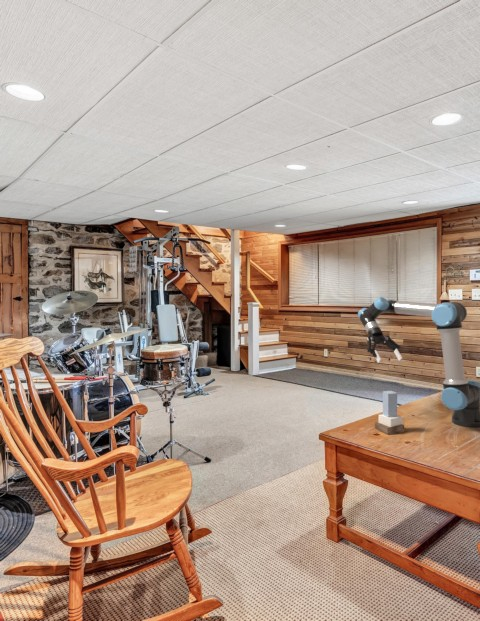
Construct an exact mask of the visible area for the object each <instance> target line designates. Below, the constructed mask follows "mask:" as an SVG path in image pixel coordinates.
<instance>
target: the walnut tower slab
mask: <svg viewBox="0 0 480 621" xmlns="http://www.w3.org/2000/svg"><path fill="white" fill-rule="evenodd" d="M374 429H375V430H377V431H379V432H381V433H383V434H385V435H388V436H389V435H395V434H402V433H405V425H404V424H403V423H402V425H398V426H393V427H389V426H386V425H384V424H381V423H379V420H377V421H375V422H374Z"/></svg>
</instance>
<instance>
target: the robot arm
mask: <svg viewBox="0 0 480 621" xmlns="http://www.w3.org/2000/svg"><path fill="white" fill-rule="evenodd" d="M381 314H399V315H408V316H418V317H427V318H428V317H429V318H431V320H432V322H433V323H434V324H435V327H436V331H438V332H439V333H440V340H441V342H440V343H441V349H442V350H441V351H442V359H443V366H444V367H443V368H444V375H445V379H444V380H443V381H442V386H443V390H442V391H441V394H440V399H441V402H442V403H443V405H444V406H445V407H446V408H448V409H450V410H452V411H453V412H452V415H451V423H453V424H454V425H456V426H462V427H466V428H480V382H479V381H478V380H472V379H467V378H465V370H464V363H463V356H462V354H463V353H462V345H461V339H460V338H461V337H460V331H461V330H462V328H463V325H462V323H463V322H464V321H465V320H466V318H467V315H468V311H467V309H466V307H465V305H464V304H463V303H460V302H456V301H451V302H450V301H449V302H441V303H427V302H415V301H405V300H394V299H386V298H385V297H383V296H379V297H378V298H377V299H375V300H374V301H373V303H372V304H371V305H370V306H369V307H362V308H361V309H360V310H359V311H358V312H357V316H358V318H359V321H360V323H361V324H362V326H363V327H364V329H365V331H366V333H367V334H368V337H367V338H366V341H367V342H366V343H367V345H366V346H367V353H370V355H372V356H373V357H374V358H375V360H376V361H377V363H378V364H379V363H380V362H381V361H382V358H381V356H380V355H379V352H378V351H377V350H376V347H377V345H378V346H379V345H383V346H386V347H388V348H389V349H391V350H393V353H394V355H395V356H396V358H397V360H398V361H399V362H401V361H402V360H403V356H402V355H401V352H400V349H401V346H400V344H398V343H397V342H395V341H394V340H393V339H392V338H391V337H390V336H389V335H388V334H387V335H386V336H384V335H383V334H384V333H383V331H382V329H381V327H380V326H379V324H378V322H377V321H376V319H377V318H378V317H379V316H380V315H381ZM372 342H373V344H372Z"/></svg>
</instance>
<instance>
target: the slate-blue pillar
mask: <svg viewBox="0 0 480 621" xmlns="http://www.w3.org/2000/svg"><path fill="white" fill-rule="evenodd" d="M382 414H383V415H385V416H386V417H397V415H398V393H397V392H395V391H392V390H386V391H385V390H383V391H382Z"/></svg>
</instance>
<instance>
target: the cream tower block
mask: <svg viewBox="0 0 480 621" xmlns="http://www.w3.org/2000/svg"><path fill="white" fill-rule="evenodd" d="M378 421H379V423H381V424H384V425H386V426H389V427H393V426H398V425H402V424H403V416H402V415H398V414H397V417H386V416H385V415H383V413H382V414H378Z"/></svg>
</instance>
